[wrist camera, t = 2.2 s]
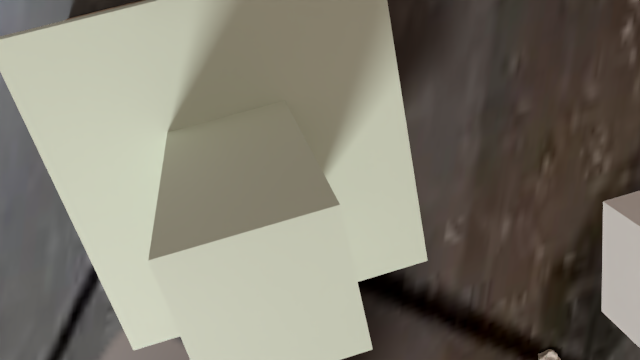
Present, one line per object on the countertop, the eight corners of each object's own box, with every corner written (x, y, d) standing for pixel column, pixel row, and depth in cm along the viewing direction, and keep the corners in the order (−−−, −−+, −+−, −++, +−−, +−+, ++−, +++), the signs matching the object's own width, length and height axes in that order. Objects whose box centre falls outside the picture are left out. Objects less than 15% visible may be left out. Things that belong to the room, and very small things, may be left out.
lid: (139, 312, 24) (101, 561, 14) (11, 30, 18) (-182, 129, 9) (407, 232, 25) (535, 414, 15) (358, -56, 19) (507, -47, 10)
